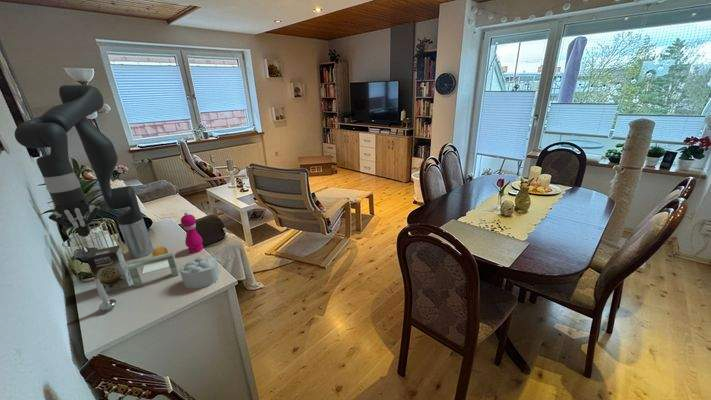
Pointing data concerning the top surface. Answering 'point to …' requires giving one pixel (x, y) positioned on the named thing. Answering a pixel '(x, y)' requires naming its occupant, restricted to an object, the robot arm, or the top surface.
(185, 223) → the pepper mill
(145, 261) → the bridge
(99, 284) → the screw
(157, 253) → the ball
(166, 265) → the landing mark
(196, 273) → the lumpy-topped squat cylinder
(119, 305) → the top surface
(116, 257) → the coffee box
